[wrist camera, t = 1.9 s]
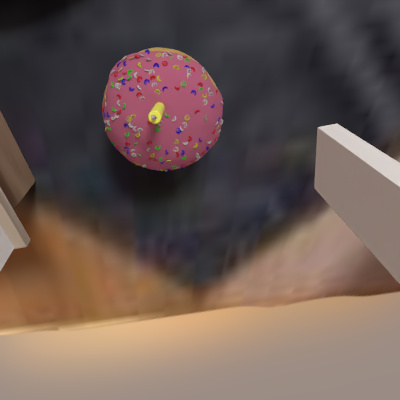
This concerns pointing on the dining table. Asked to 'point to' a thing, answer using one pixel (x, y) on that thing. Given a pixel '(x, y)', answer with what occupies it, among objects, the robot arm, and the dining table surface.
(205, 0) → the dining table surface
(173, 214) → the dining table surface
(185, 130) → the cupcake
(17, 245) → the white box
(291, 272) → the dining table surface
